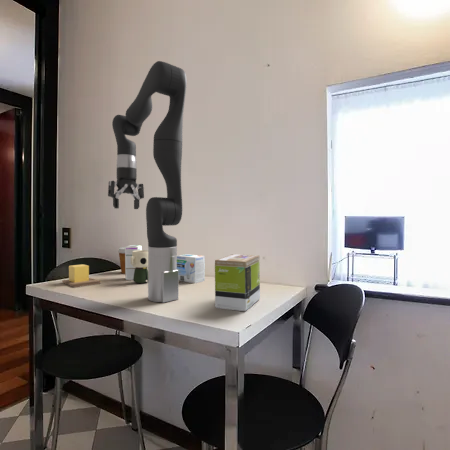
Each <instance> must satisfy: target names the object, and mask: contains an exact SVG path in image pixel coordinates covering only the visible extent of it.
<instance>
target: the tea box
mask: <svg viewBox="0 0 450 450" xmlns="http://www.w3.org/2000/svg"><path fill="white" fill-rule="evenodd" d="M260 263H261V262H260V255H255V254H236V253H235V254H230V255H226V256H223V257H220V258H217V259H214V305H215V308H216V309H221V310H222V309H223V310H230V311H232V310H233V311H237V312H239V311H240V312H247V310H248V309H250V308H251V307H252V306H254V305H255V303H257V302H258V301H259V300H260V299H261V287H260V286H261V282H260V281H261V277H260V276H261V275H260V266H261V265H260Z"/></svg>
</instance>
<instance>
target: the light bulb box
mask: <svg viewBox="0 0 450 450" xmlns="http://www.w3.org/2000/svg"><path fill="white" fill-rule="evenodd" d="M205 259H206V258H205V255H199V254H198V255H197V254H188V253H187V254H186V253H184V254H179V255H178V254H177V270H178V272H179V273H178V282H186V283H191V284H199V283H201V282H205V276H206V275H205V272H206V269H205V267H206V266H205V263H206V262H205V261H206V260H205Z"/></svg>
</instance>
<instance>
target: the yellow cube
mask: <svg viewBox="0 0 450 450" xmlns="http://www.w3.org/2000/svg"><path fill="white" fill-rule="evenodd" d="M89 278H90V265H87V264H82V263H81V264H73V265H69V266H68V280H69V281H71V282H74V283H75V282H82V281H89Z"/></svg>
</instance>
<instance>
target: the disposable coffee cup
mask: <svg viewBox="0 0 450 450" xmlns="http://www.w3.org/2000/svg"><path fill="white" fill-rule="evenodd" d="M125 247H126V246H124V247H123V246H122V247H119V248H118V250H117V252H118V257H119V264H120V271H121V274H122V275H125Z"/></svg>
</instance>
